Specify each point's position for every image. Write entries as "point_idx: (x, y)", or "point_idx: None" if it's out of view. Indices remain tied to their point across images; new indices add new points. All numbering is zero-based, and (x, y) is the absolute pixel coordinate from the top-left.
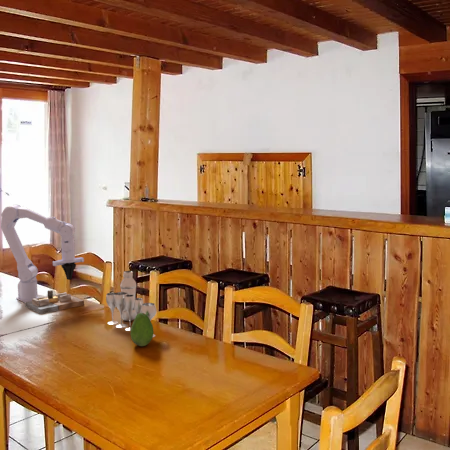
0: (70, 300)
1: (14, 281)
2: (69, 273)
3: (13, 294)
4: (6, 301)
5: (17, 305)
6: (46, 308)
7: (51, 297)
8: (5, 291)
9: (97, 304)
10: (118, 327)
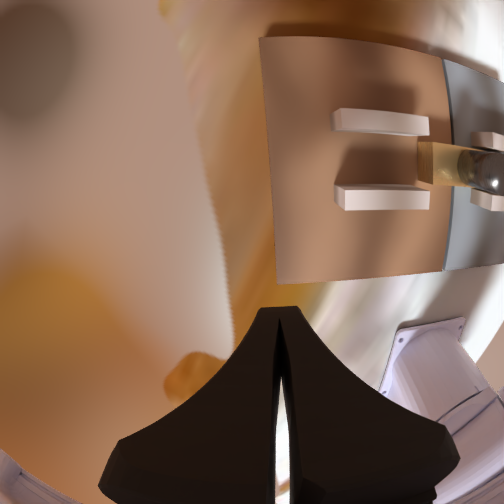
0: (342, 98)
1: None
2: (305, 352)
3: None
4: None
5: (492, 295)
6: (490, 78)
7: (473, 150)
8: None
9: (185, 18)
10: None
